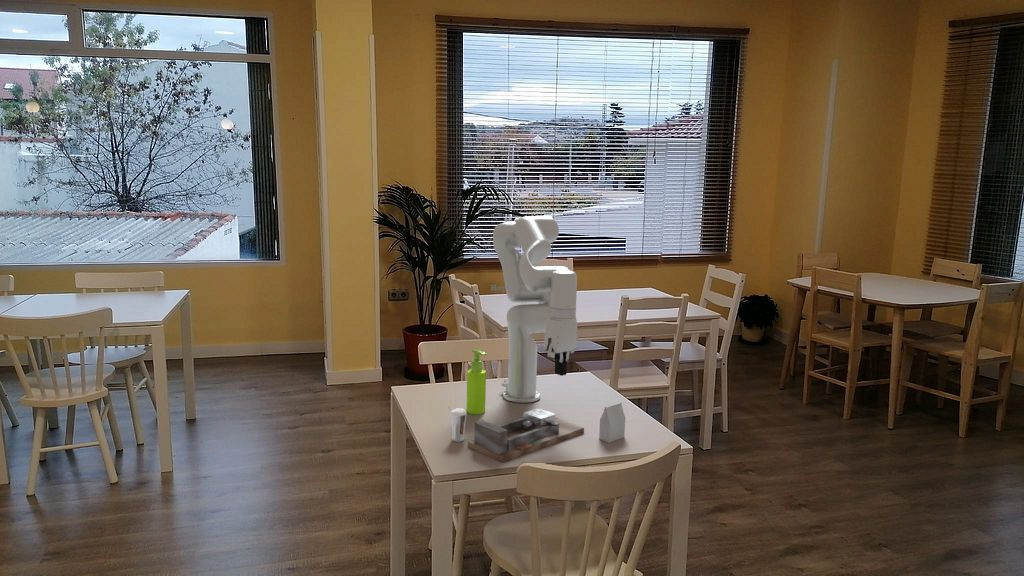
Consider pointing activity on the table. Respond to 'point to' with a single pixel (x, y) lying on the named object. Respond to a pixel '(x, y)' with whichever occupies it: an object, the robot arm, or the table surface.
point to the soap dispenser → (476, 385)
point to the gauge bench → (518, 438)
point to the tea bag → (612, 423)
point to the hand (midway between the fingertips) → (560, 374)
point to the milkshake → (458, 424)
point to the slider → (537, 419)
